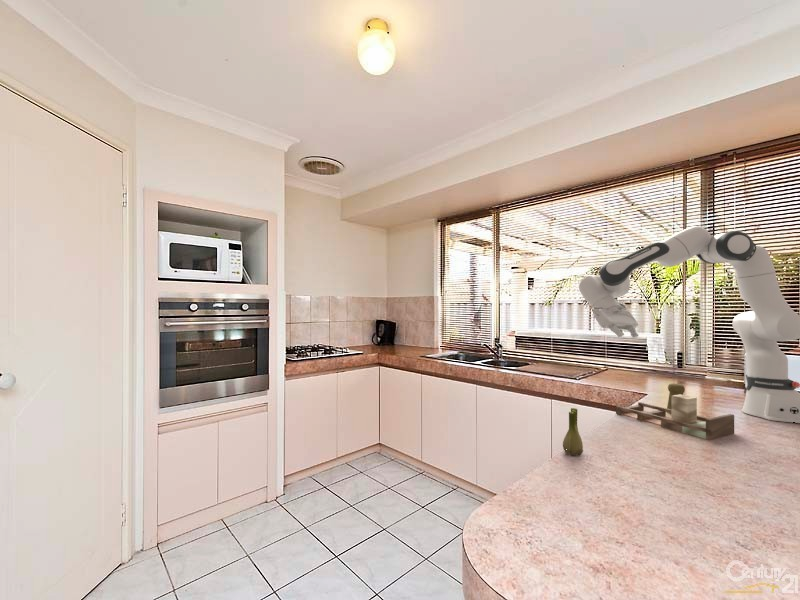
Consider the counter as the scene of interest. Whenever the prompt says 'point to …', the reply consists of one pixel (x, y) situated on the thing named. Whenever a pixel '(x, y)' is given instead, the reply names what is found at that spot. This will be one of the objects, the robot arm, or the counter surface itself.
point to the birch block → (684, 408)
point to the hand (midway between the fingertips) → (629, 336)
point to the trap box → (701, 428)
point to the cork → (674, 392)
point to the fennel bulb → (573, 436)
